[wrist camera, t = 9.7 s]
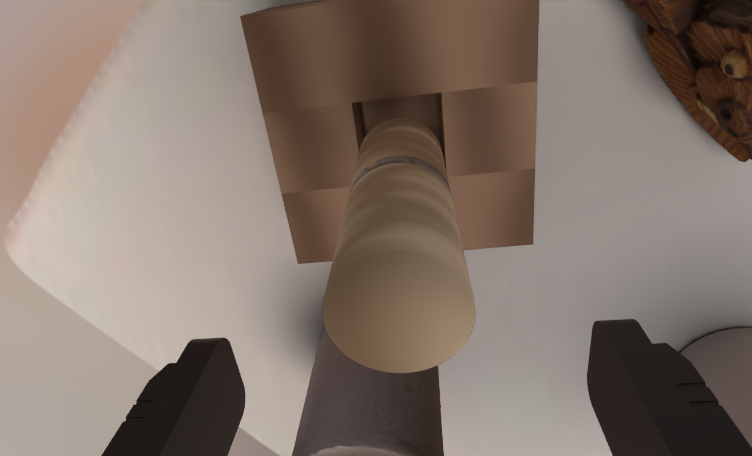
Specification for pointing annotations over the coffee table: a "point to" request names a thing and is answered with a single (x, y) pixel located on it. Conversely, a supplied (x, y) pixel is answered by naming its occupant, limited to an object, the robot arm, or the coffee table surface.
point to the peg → (399, 257)
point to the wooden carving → (706, 62)
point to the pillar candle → (368, 409)
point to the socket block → (400, 105)
